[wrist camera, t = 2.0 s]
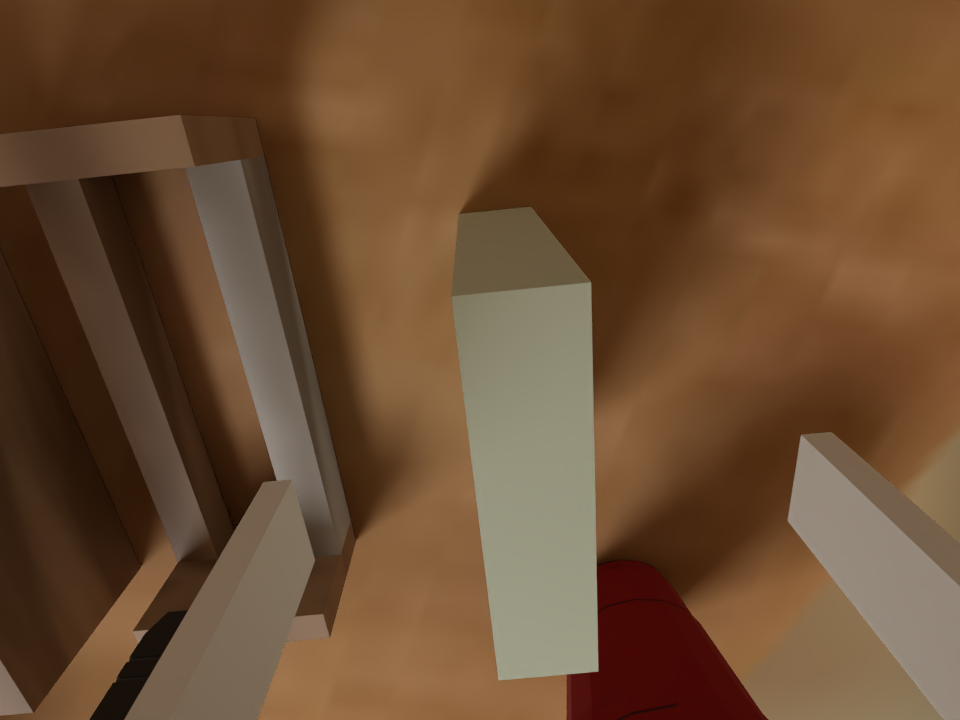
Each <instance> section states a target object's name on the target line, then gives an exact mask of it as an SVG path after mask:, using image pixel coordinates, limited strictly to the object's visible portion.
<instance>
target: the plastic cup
mask: <svg viewBox="0 0 960 720" xmlns="http://www.w3.org/2000/svg"><path fill="white" fill-rule="evenodd" d="M597 619H598V672H588V673H577V674H567V720H768V719H767V718H766V717H765V716H764V715H763V714H762V712H761V711H760V709H759V708H758V706H757V705H756V704H755V702H754V701H753V699H752V698H751V696H750V695H749V693H748V692H747V690H746V689H745V688H744V686H743V685H742V683H741V682H740V680H739V679H738V677H737V676H736V675H735V673H734V672H733V670H732V669H731V667H730V666H729V664H728V663H727V662H726V660H725V659H724V657H723V656H722V654H721V653H720V651H719V650H718V649H717V647H716V646H715V644H714V643H713V641H712V640H711V638H710V637H709V636H708V634H707V633H706V631H705V630H704V628H703V627H702V625H701V624H700V623H699V622H698V621H697V620H696V619H695V618H694V617H693V616H692V614H691V613H690V611H689V610H688V608H687V607H686V605H685V604H684V603H683V601H682V600H681V598H680V597H679V595H678V594H677V592H676V591H675V589H674V588H673V586H672V585H671V584H670V583H669V582H668V581H667V580H666V579H665V578H664V577H663V576H662V575H661V574H660V573H659V572H658V571H657V570H656V569H655V568H654V567H651V566H649V565H646V564H644V563H641V562H639V561H626V560H617V561H613V562H609V563H605V564H602V565H598V566H597Z"/></svg>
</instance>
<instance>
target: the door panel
mask: <svg viewBox="0 0 960 720" xmlns="http://www.w3.org/2000/svg"><path fill="white" fill-rule="evenodd" d="M451 297H452V305H453V313H454V322H455V330H456V338H457V346H458V354H459V362H460V370H461V379H462V387H463V395H464V403H465V411H466V419H467V427H468V435H469V444H470V452H471V460H472V468H473V476H474V484H475V492H476V501H477V509H478V517H479V525H480V533H481V541H482V549H483V557H484V566H485V574H486V582H487V590H488V598H489V606H490V614H491V623H492V631H493V639H494V647H495V655H496V663H497V671H498V679H499V680H509V679H520V678H531V677H543V676H554V675H565V674H577V673H588V672H598V619H597V565H596V512H595V458H594V404H593V351H592V297H591V281H590V280H589V279H588V278H587V276H586V275H585V274H584V273H583V271H582V270H581V269H580V268H579V266H578V265H577V264H576V263H575V261H574V260H573V259H572V257H571V256H570V255H569V254H568V252H567V251H566V250H565V249H564V247H563V246H562V245H561V244H560V242H559V241H558V240H557V239H556V237H555V236H554V235H553V234H552V232H551V231H550V230H549V229H548V227H547V226H546V225H545V224H544V222H543V221H542V220H541V219H540V217H539V216H538V215H537V214H536V212H535V211H534V210H533V209H532V207H522V208H513V209H503V210H493V211H484V212H474V213H464V214H459V219H458V230H457V241H456V252H455V263H454V274H453V284H452V295H451Z"/></svg>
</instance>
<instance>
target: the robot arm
mask: <svg viewBox="0 0 960 720" xmlns="http://www.w3.org/2000/svg"><path fill="white" fill-rule="evenodd" d="M788 522H789V524H790V525H791V526H792V527H793V529H794V530H795V531H796V532H797V534H798V535H799V536H800V538H801V539H802V540H803V541H804V543H805V544H806V545H807V546H808V548H809V549H810V550H811V552H812V553H813V554H814V555H815V557H816V558H817V559H818V560H819V562H820V563H821V564H822V566H823V567H824V568H825V569H826V571H827V572H828V573H829V575H830V576H831V577H832V578H833V580H834V581H835V582H836V583H837V585H838V586H839V587H840V588H841V590H842V591H843V592H844V594H845V595H846V596H847V597H848V599H849V600H850V601H851V603H852V604H853V605H854V606H855V608H856V609H857V610H858V611H859V613H860V614H861V615H862V617H863V618H864V619H865V620H866V622H867V623H868V624H869V625H870V627H871V628H872V629H873V631H874V632H875V633H876V634H877V636H878V637H879V638H880V639H881V640H882V642H883V643H884V644H885V646H886V647H887V648H888V650H889V651H890V652H891V653H892V655H893V656H894V657H895V659H896V660H897V661H898V662H899V663H900V665H901V666H902V667H903V669H904V670H905V671H906V673H907V674H908V675H909V676H910V678H911V679H912V680H913V681H914V683H915V684H916V685H917V687H918V688H919V689H920V690H921V692H922V693H923V694H924V695H925V697H926V698H927V699H928V701H929V702H930V703H931V704H932V706H933V707H934V708H935V709H936V711H937V712H938V713H939V714H940V716H941V717H942V718H943V720H960V543H959V542H958V541H957V540H956V539H954V538H953V537H952V536H951V535H950V534H949V533H948V532H946V531H945V530H944V529H943V528H942V527H941V526H940V525H938V524H937V523H936V522H935V521H934V520H933V519H931V518H930V517H929V516H928V515H927V514H926V513H925V512H923V511H922V510H921V509H920V508H919V507H917V506H916V505H915V504H914V503H913V502H912V501H911V500H910V499H908V498H907V497H906V496H905V495H904V494H903V493H902V492H900V491H899V490H898V489H897V488H896V487H895V486H893V485H892V484H891V483H890V482H889V481H888V480H887V479H885V478H884V477H883V476H882V475H881V474H880V473H878V472H877V471H876V470H875V469H874V468H873V467H872V466H870V465H869V464H868V463H867V462H866V461H865V460H863V459H862V458H861V457H860V456H859V455H858V454H857V453H855V452H854V451H853V450H852V449H851V448H850V447H848V446H847V445H846V444H845V443H844V442H843V441H842V440H840V439H839V438H838V437H837V436H836V435H835V434H833V433H832V432H825V433H814V434H802V435H801V438H800V444H799V451H798V457H797V463H796V470H795V476H794V483H793V489H792V495H791V502H790V508H789V514H788ZM314 562H315V558H314V554H313V551H312V547H311V544H310V540H309V537H308V533H307V530H306V526H305V523H304V519H303V515H302V512H301V508H300V505H299V501H298V498H297V494H296V491H295V487H294V484H293V480H292V479H291V480H280V481H268V482H263V484H262V485H261V487H260V489H259V490H258V492H257V494H256V496H255V497H254V499H253V501H252V502H251V504H250V506H249V508H248V509H247V511H246V513H245V514H244V516H243V518H242V519H241V521H240V523H239V525H238V526H237V528H236V530H235V531H234V533H233V535H232V537H231V538H230V540H229V542H228V543H227V545H226V547H225V548H224V550H223V552H222V554H221V555H220V557H219V559H218V560H217V562H216V564H215V566H214V567H213V569H212V571H211V572H210V574H209V576H208V578H207V579H206V581H205V583H204V584H203V586H202V588H201V589H200V591H199V593H198V595H197V596H196V598H195V600H194V601H193V603H192V605H191V607H190V608H189V610H184V611H172V612H167V613H166V614H165V615H164V616H163V617H162V618H161V619H160V620H159V621H158V622H157V623H156V624H155V625H153V626H152V627H151V628H150V629H149V630H148V631H147V632H146V633H145V634H144V636H143V637H142V639H141V640H140V642H139V644H138V645H137V647H136V648H135V650H134V651H133V653H132V654H131V656H130V660H129V662H126V664H125V665H124V667H123V668H122V670H121V672H120V673H119V675H118V676H117V681H116V683H113V684H112V686H111V687H110V689H109V690H108V692H107V693H106V695H105V696H104V698H103V699H102V701H101V703H100V704H99V706H98V707H97V709H96V710H95V712H94V713H93V715H92V717H91V718H90V720H257V719H258V717H259V714H260V711H261V708H262V706H263V703H264V700H265V697H266V695H267V692H268V689H269V686H270V683H271V681H272V678H273V675H274V672H275V670H276V667H277V664H278V661H279V659H280V656H281V653H282V650H283V648H284V645H285V642H286V639H287V637H288V634H289V631H290V628H291V626H292V623H293V620H294V617H295V615H296V612H297V609H298V606H299V604H300V601H301V598H302V595H303V593H304V590H305V587H306V584H307V582H308V579H309V576H310V573H311V571H312V568H313V565H314Z"/></svg>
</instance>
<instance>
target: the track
mask: <svg viewBox="0 0 960 720" xmlns="http://www.w3.org/2000/svg"><path fill="white" fill-rule="evenodd" d="M176 168H185V169H186V173H187V176H188V179H189V183H190V186H191V190H192V193H193V196H194V200H195V203H196V207H197V210H198V213H199V217H200V220H201V224H202V227H203V231H204V234H205V237H206V241H207V244H208V248H209V251H210V254H211V258H212V261H213V265H214V268H215V271H216V275H217V278H218V282H219V285H220V289H221V292H222V295H223V299H224V302H225V306H226V309H227V312H228V316H229V319H230V323H231V326H232V329H233V333H234V336H235V340H236V343H237V347H238V350H239V353H240V357H241V360H242V364H243V367H244V370H245V374H246V377H247V381H248V384H249V387H250V391H251V394H252V398H253V401H254V405H255V408H256V411H257V415H258V418H259V422H260V425H261V428H262V432H263V435H264V439H265V442H266V445H267V449H268V452H269V456H270V459H271V463H272V466H273V469H274V473H275V476H276V480H277V481H280V480H291V479H292V480H293V484H294V487H295V491H296V494H297V498H298V501H299V505H300V508H301V512H302V515H303V519H304V523H305V526H306V530H307V533H308V537H309V540H310V544H311V547H312V551H313V554H314V558H315V562H314V565H313V568H312V571H311V573H310V576H309V579H308V582H307V584H306V587H305V590H304V593H303V595H302V598H301V601H300V604H299V606H298V609H297V612H296V615H295V617H294V620H293V623H292V626H291V628H290V631H289V634H288V637H287V639H286V642H289V641H300V640H311V639H322V638H330V636H331V632H332V628H333V624H334V621H335V617H336V613H337V609H338V606H339V602H340V598H341V595H342V591H343V587H344V583H345V580H346V576H347V572H348V568H349V565H350V561H351V557H352V554H353V550H354V546H355V542H356V540H355V536H354V532H353V528H352V523H351V519H350V515H349V511H348V507H347V502H346V498H345V494H344V490H343V486H342V481H341V477H340V473H339V469H338V465H337V460H336V456H335V452H334V448H333V443H332V439H331V435H330V431H329V427H328V422H327V418H326V414H325V410H324V406H323V401H322V397H321V393H320V389H319V385H318V380H317V376H316V372H315V368H314V363H313V359H312V355H311V351H310V347H309V342H308V338H307V334H306V330H305V326H304V321H303V317H302V313H301V309H300V304H299V300H298V296H297V292H296V288H295V283H294V279H293V275H292V271H291V267H290V262H289V258H288V254H287V250H286V246H285V241H284V237H283V233H282V229H281V224H280V220H279V216H278V212H277V208H276V203H275V199H274V195H273V191H272V187H271V182H270V178H269V174H268V170H267V166H266V161H265V157H264V153H263V149H262V144H261V140H260V136H259V132H258V128H257V123H256V119H255V118H250V117H225V116H200V115H173V116H163V117H154V118H145V119H136V120H126V121H117V122H108V123H99V124H89V125H80V126H71V127H62V128H52V129H43V130H34V131H25V132H15V133H6V134H0V187H7V186H16V185H25V187H26V190H27V192H28V195H29V197H30V200H31V202H32V205H33V207H34V210H35V212H36V214H37V217H38V219H39V222H40V224H41V227H42V229H43V232H44V234H45V237H46V239H47V242H48V244H49V246H50V249H51V251H52V254H53V256H54V259H55V261H56V264H57V266H58V269H59V271H60V273H61V276H62V278H63V281H64V283H65V286H66V288H67V291H68V293H69V296H70V298H71V300H72V303H73V305H74V308H75V310H76V313H77V315H78V318H79V320H80V323H81V325H82V328H83V330H84V332H85V335H86V337H87V340H88V342H89V345H90V347H91V350H92V352H93V355H94V357H95V359H96V362H97V364H98V367H99V369H100V372H101V374H102V377H103V379H104V382H105V384H106V386H107V389H108V391H109V394H110V396H111V399H112V401H113V404H114V406H115V409H116V411H117V414H118V416H119V418H120V421H121V423H122V426H123V428H124V431H125V433H126V436H127V438H128V441H129V443H130V445H131V448H132V450H133V453H134V455H135V458H136V460H137V463H138V465H139V468H140V470H141V472H142V475H143V477H144V480H145V482H146V485H147V487H148V490H149V492H150V495H151V497H152V500H153V502H154V504H155V507H156V509H157V512H158V514H159V517H160V519H161V522H162V524H163V527H164V529H165V531H166V534H167V536H168V539H169V541H170V544H171V546H172V549H173V551H174V554H175V556H176V558H177V561H178V564H177V565H176V567H175V568H174V570H173V571H172V573H171V574H170V576H169V577H168V579H167V580H166V582H165V583H164V585H163V586H162V588H161V589H160V591H159V592H158V594H157V595H156V597H155V598H154V600H153V601H152V603H151V604H150V606H149V608H148V609H147V611H146V612H145V614H144V615H143V617H142V618H141V620H140V621H139V623H138V624H137V626H136V627H135V629H134V630H133V633H134V635H135V637H136V639H137V641H138V643H139V642H140V640H141V639H142V637H143V636H144V634H145V633H146V632H147V631H148V630H149V629H150V628H151V627H152V626H153V625H155V624H156V623H157V622H158V621H159V620H160V619H161V618H162V617H163V616H164V615H165V614H166V613H167V612H172V611H184V610H189V608H190V607H191V605H192V603H193V601H194V600H195V598H196V596H197V595H198V593H199V591H200V589H201V588H202V586H203V584H204V583H205V581H206V579H207V578H208V576H209V574H210V572H211V571H212V569H213V567H214V566H215V564H216V562H217V560H218V559H219V557H220V555H221V554H222V552H223V550H224V548H225V547H226V545H227V543H228V542H229V540H230V538H231V537H232V535H233V533H234V530H233V527H232V524H231V521H230V518H229V515H228V512H227V509H226V507H225V504H224V501H223V498H222V495H221V492H220V489H219V486H218V483H217V481H216V478H215V475H214V472H213V469H212V466H211V463H210V460H209V457H208V454H207V452H206V449H205V446H204V443H203V440H202V437H201V434H200V431H199V428H198V425H197V423H196V420H195V417H194V414H193V411H192V408H191V405H190V402H189V399H188V396H187V394H186V391H185V388H184V385H183V382H182V379H181V376H180V373H179V370H178V368H177V365H176V362H175V359H174V356H173V353H172V350H171V347H170V344H169V341H168V339H167V336H166V333H165V330H164V327H163V324H162V321H161V318H160V315H159V312H158V310H157V307H156V304H155V301H154V298H153V295H152V292H151V289H150V286H149V283H148V281H147V278H146V275H145V272H144V269H143V266H142V263H141V260H140V257H139V254H138V252H137V249H136V246H135V243H134V240H133V237H132V234H131V231H130V228H129V226H128V223H127V220H126V217H125V214H124V211H123V208H122V205H121V202H120V199H119V197H118V194H117V191H116V188H115V185H114V182H113V179H112V176H111V175H119V174H129V173H138V172H148V171H157V170H166V169H176ZM140 568H141V566H140V564H139V562H138V559H137V557H136V555H135V553H134V550H133V548H132V546H131V544H130V541H129V539H128V537H127V535H126V532H125V530H124V528H123V526H122V523H121V521H120V519H119V517H118V514H117V512H116V510H115V508H114V505H113V503H112V501H111V498H110V496H109V494H108V492H107V489H106V487H105V485H104V483H103V480H102V478H101V476H100V474H99V471H98V469H97V467H96V465H95V462H94V460H93V458H92V456H91V453H90V451H89V449H88V447H87V444H86V442H85V440H84V438H83V435H82V433H81V431H80V429H79V426H78V424H77V422H76V420H75V417H74V415H73V413H72V411H71V408H70V406H69V404H68V402H67V399H66V397H65V395H64V392H63V390H62V388H61V386H60V383H59V381H58V379H57V377H56V374H55V372H54V370H53V368H52V365H51V363H50V361H49V359H48V356H47V354H46V352H45V350H44V347H43V345H42V343H41V341H40V338H39V336H38V334H37V332H36V329H35V327H34V325H33V323H32V320H31V318H30V316H29V314H28V311H27V309H26V307H25V305H24V302H23V300H22V298H21V296H20V293H19V291H18V289H17V287H16V284H15V282H14V280H13V277H12V275H11V273H10V271H9V268H8V266H7V264H6V262H5V259H4V257H3V255H2V253H1V250H0V716H2V715H13V714H25V713H34V711H35V710H36V709H37V707H38V706H39V705H40V703H41V702H42V700H43V699H44V698H45V696H46V695H47V694H48V692H49V691H50V690H51V688H52V687H53V686H54V684H55V683H56V682H57V680H58V679H59V677H60V676H61V675H62V673H63V672H64V671H65V669H66V668H67V667H68V665H69V664H70V663H71V661H72V660H73V659H74V657H75V656H76V655H77V653H78V652H79V650H80V649H81V648H82V646H83V645H84V644H85V642H86V641H87V640H88V638H89V637H90V636H91V634H92V633H93V632H94V630H95V629H96V627H97V626H98V625H99V623H100V622H101V621H102V619H103V618H104V617H105V615H106V614H107V613H108V611H109V610H110V609H111V607H112V606H113V604H114V603H115V602H116V600H117V599H118V598H119V596H120V595H121V594H122V592H123V591H124V590H125V588H126V587H127V586H128V584H129V583H130V582H131V580H132V579H133V577H134V576H135V575H136V573H137V572H138V571H139V569H140Z"/></svg>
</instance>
